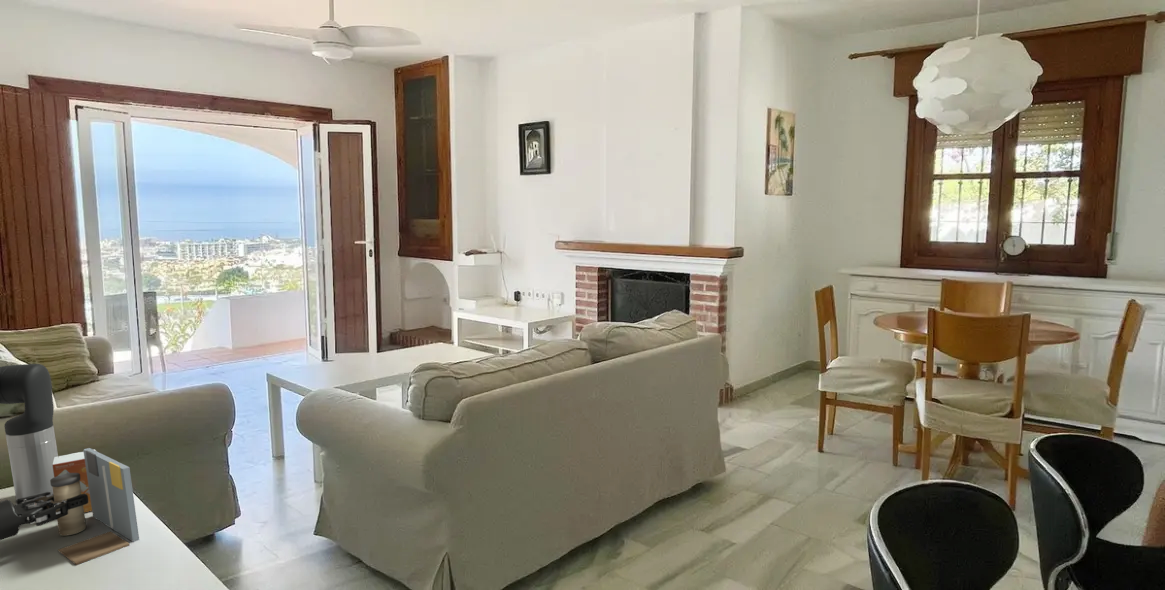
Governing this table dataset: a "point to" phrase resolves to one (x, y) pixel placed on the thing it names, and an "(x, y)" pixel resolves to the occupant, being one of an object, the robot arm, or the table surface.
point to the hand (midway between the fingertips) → (82, 495)
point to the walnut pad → (93, 547)
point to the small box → (74, 465)
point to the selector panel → (111, 493)
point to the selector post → (63, 490)
